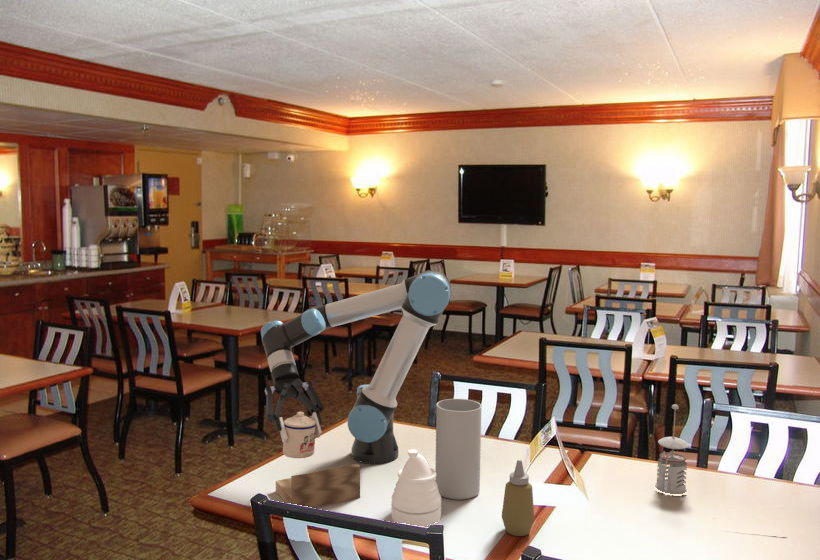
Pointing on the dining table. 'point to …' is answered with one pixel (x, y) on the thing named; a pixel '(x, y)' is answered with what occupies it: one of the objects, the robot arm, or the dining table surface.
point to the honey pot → (416, 493)
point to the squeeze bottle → (518, 503)
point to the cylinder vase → (458, 448)
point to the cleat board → (321, 486)
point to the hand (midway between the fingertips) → (302, 437)
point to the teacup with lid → (299, 436)
